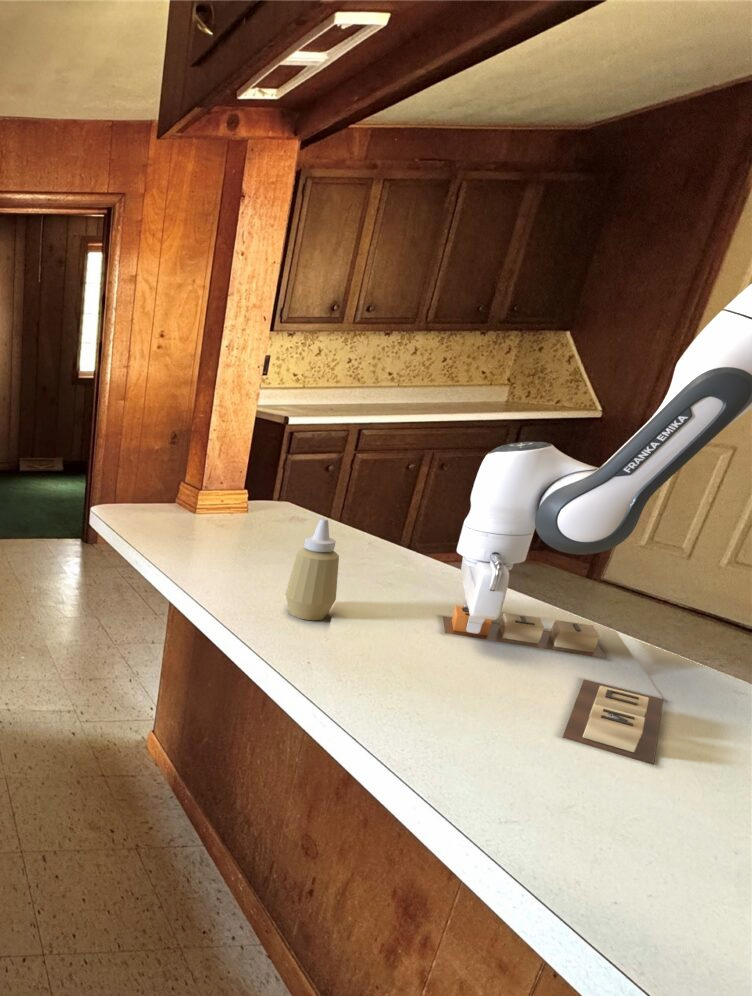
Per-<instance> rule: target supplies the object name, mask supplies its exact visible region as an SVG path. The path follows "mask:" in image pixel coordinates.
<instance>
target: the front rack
mask: <svg viewBox="0 0 752 996" xmlns="http://www.w3.org/2000/svg"><path fill="white" fill-rule="evenodd" d="M663 701H664V699H663V698H660V697H657V696H652V695H648V694H644V693H641V692H637V691H632V690H630V689H629V690H628V689H624V688H620V687H616V686H612V685H609V684H605V683H600V682H596V681H592V680H588V679H583V681H582V683H581V685H580V688H579V691H578V693H577V696H576V699H575V702H574V704H573V707H572V710H571V712H570V716H569V717H568V720H567V723H566V726H565V728H564V732H563V734H562V739H566V740H569V741H572V742H576V743H579V744H582V745H586V746H589V747H592V748H596V749H599V750H602V751H605V752H609V753H612V754H616V755H618V756H622V757H626V758H629V759H632V760H634V761H635V760H636V761H639V762H642V763H645V764H649V765H654V764H655V756H656V750H657V743H658V737H659V736H658V735H659V730H660V723H661V716H662V709H663Z"/></svg>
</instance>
